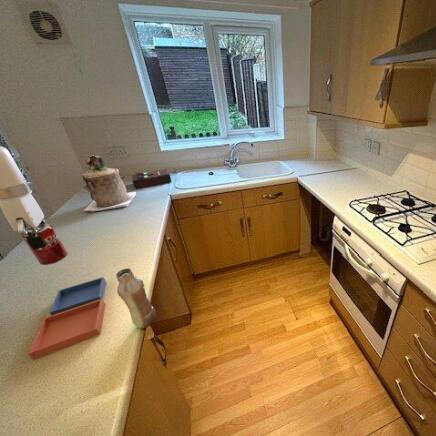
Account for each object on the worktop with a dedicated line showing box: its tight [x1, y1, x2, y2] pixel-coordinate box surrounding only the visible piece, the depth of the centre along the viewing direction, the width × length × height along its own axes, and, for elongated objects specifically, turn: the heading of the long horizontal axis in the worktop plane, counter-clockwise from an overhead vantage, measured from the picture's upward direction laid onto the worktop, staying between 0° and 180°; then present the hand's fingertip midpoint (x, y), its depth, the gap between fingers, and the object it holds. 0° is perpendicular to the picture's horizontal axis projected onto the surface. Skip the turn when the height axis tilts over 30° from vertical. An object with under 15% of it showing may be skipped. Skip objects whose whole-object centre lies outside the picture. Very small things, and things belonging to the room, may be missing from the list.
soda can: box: [20, 223, 69, 266], centre depth 78 cm, size 7×7×12 cm
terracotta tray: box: [27, 298, 106, 360], centre depth 73 cm, size 15×13×3 cm
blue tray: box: [49, 276, 107, 316], centre depth 84 cm, size 13×11×3 cm
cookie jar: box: [82, 154, 137, 213], centre depth 150 cm, size 25×25×32 cm
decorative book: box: [130, 168, 173, 190], centre depth 189 cm, size 19×8×30 cm
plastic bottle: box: [115, 268, 157, 329], centre depth 70 cm, size 6×7×20 cm
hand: (43, 241), depth 77 cm, fingers closed on soda can, 7 cm apart
